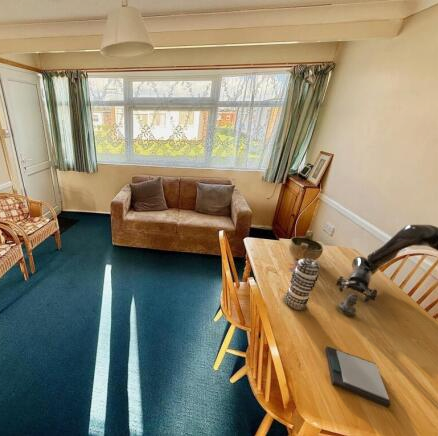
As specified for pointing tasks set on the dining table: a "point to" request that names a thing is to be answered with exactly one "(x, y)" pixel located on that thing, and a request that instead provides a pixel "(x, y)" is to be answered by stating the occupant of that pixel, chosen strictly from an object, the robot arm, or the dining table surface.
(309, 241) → the ceramic bowl
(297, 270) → the decorative candle
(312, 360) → the dining table surface
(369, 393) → the scale
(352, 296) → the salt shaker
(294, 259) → the lily
